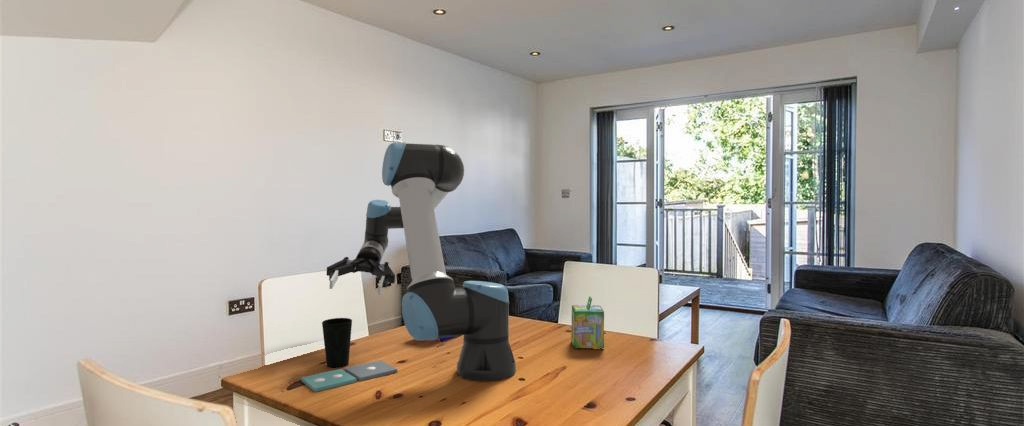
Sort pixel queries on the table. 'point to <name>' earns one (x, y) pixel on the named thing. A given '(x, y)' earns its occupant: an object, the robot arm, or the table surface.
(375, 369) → the tile one
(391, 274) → the robot arm
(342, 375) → the tile two
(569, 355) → the table surface
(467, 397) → the table surface
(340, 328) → the cup
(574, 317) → the green printed box
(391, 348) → the table surface
